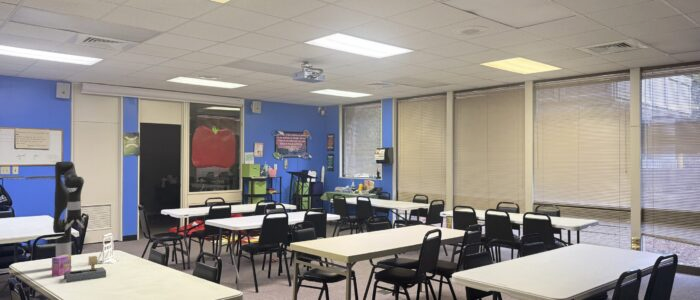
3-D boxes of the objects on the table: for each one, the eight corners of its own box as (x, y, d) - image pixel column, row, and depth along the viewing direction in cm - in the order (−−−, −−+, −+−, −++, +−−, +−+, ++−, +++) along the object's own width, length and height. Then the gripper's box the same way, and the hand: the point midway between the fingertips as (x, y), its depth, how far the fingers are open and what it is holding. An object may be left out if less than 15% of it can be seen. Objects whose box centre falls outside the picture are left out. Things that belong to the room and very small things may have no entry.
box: (59, 276, 311) (59, 257, 311) (51, 276, 312) (51, 257, 313) (71, 272, 321) (71, 254, 322) (64, 272, 323) (64, 254, 323)
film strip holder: (113, 263, 348) (113, 235, 348) (94, 263, 348) (94, 235, 348) (123, 259, 362) (123, 232, 362) (104, 259, 362) (104, 232, 363)
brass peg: (88, 272, 321) (88, 256, 321) (96, 271, 324) (96, 255, 324) (89, 274, 317) (89, 257, 317) (97, 272, 320) (97, 256, 320)
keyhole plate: (66, 282, 296) (66, 275, 296) (64, 278, 306) (64, 272, 306) (106, 276, 309) (106, 270, 309) (102, 273, 318) (102, 267, 318)
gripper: (84, 207, 311) (84, 232, 311) (59, 209, 301) (59, 235, 301) (88, 208, 306) (88, 234, 306) (63, 210, 296) (63, 237, 296)
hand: (74, 234), depth 303 cm, fingers open, 8 cm apart
